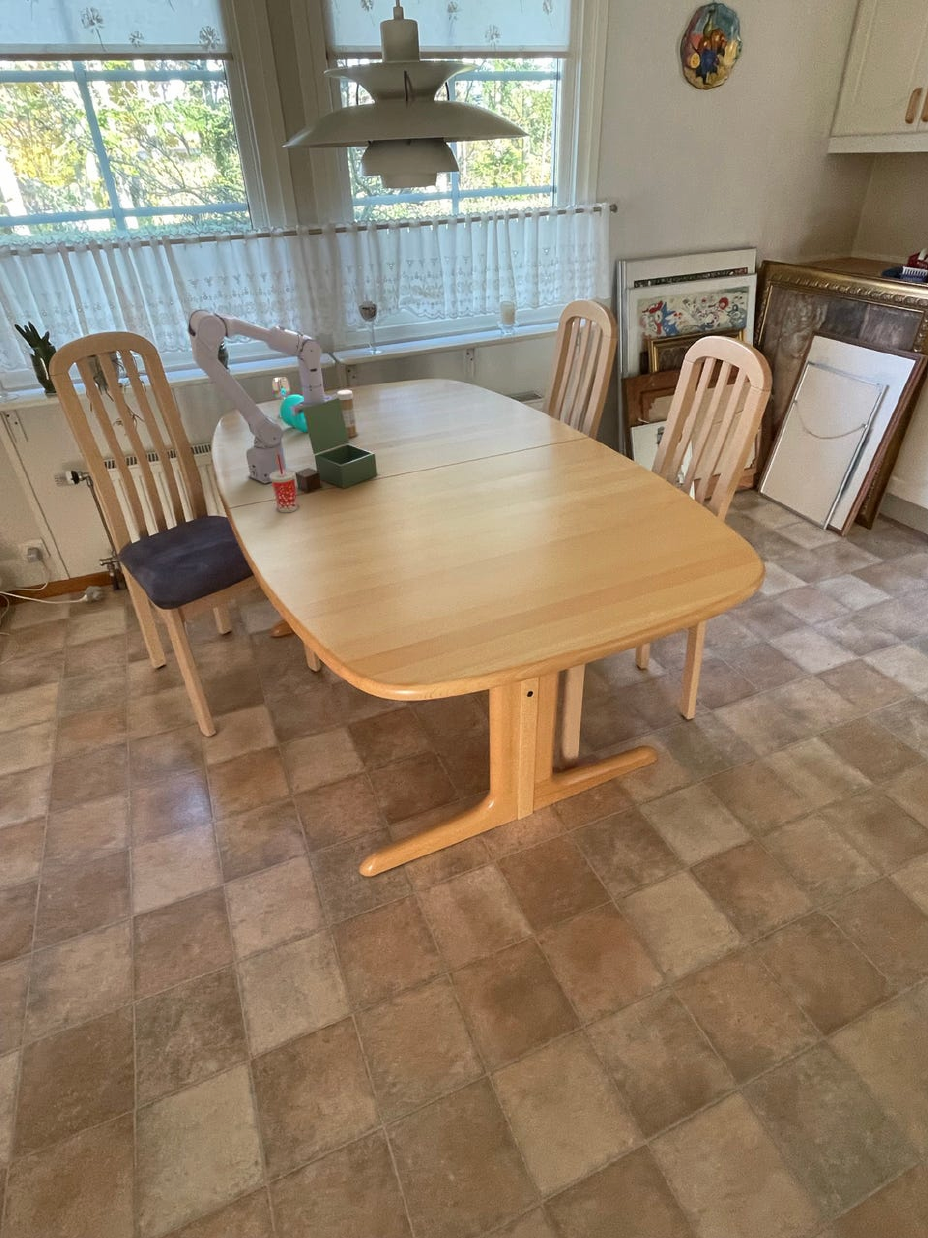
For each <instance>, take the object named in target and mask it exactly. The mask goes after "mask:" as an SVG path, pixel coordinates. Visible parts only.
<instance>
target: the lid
mask: <svg viewBox="0 0 928 1238" xmlns="http://www.w3.org/2000/svg"><path fill="white" fill-rule="evenodd" d="M302 409H303V413H304V417H305V421H306V425H307V429H308V432H307V433H308V437H309V441H310V446H311V449H312V454H313V455H318V454H321V453H323V452H326V451H329V450H332V449H335V448H338V447H340V446H343V445H346V444H349V442H350V441H349V439H350V438H349V437H348V435H347V430H346V426H345V421H344V417H343V413H342V408H341V404H340V399H339V398H335V399H332V400H329V401H325V402H322V403H319V404H315V405H312V406H309V407H305V408H302Z"/></svg>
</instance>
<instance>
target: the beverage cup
mask: <svg viewBox="0 0 928 1238" xmlns="http://www.w3.org/2000/svg"><path fill="white" fill-rule="evenodd" d="M278 461H279V466H280V470H278V471H275V472H272V473H271V474H270V475H269V478H270V480H271V482H270V483H271V486H272V489H273V493H274V497H275V501H276V505H277V508H278V511H279V512H281V513H292V512H294V511H296V510H298V499H297V490H296V481H295V480H296V479H295V478H296V474H295V473H296V472H295V471H294V470H292V469H289V470H282V466H281V460H280V455H279V454H278Z"/></svg>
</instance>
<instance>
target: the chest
mask: <svg viewBox="0 0 928 1238" xmlns="http://www.w3.org/2000/svg"><path fill="white" fill-rule="evenodd" d="M314 461H315V468H316V471H318V472H319V474H320V480H323V481H325V482H328V483H330V484H333V485H335V486H338V487H339V488H342V489H346V488H348V487H351V486H353V485H356V484H358V483H361V482H364V481H365V480H369V479H371V478H374V477H376V476H377V475H378V471H377V470H378V469H377V461H376V453H375V452H372V451H369V450H367V449H364V448H362V447H359V446H356V445H353V444H351V443H345V444H343V445H340V446H337V447H334V448H331V449H328V450H325V451H323V452H320V453H317V454H314Z"/></svg>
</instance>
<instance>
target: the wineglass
mask: <svg viewBox="0 0 928 1238" xmlns="http://www.w3.org/2000/svg"><path fill="white" fill-rule="evenodd" d="M271 383H272V386H271V388H272V389H271V390H272V394H273V396H274V397H275V398H277V399H279V400H281V403H282V402H283V401H284V399H285V398H286V397H288V396H290V395H292V389H291V384H290V382H289V379H288V378H287V377H285V376H279V377H274V378H273V379H272V382H271ZM279 418H281V415H279Z"/></svg>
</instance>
